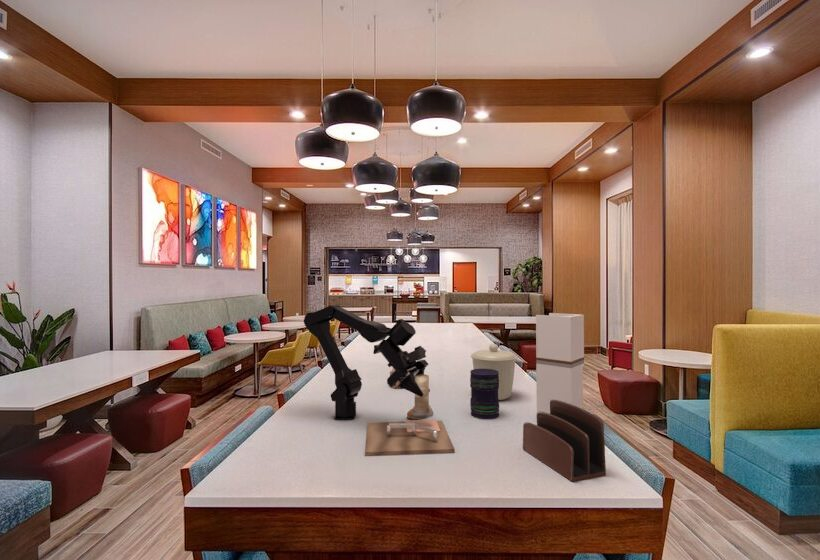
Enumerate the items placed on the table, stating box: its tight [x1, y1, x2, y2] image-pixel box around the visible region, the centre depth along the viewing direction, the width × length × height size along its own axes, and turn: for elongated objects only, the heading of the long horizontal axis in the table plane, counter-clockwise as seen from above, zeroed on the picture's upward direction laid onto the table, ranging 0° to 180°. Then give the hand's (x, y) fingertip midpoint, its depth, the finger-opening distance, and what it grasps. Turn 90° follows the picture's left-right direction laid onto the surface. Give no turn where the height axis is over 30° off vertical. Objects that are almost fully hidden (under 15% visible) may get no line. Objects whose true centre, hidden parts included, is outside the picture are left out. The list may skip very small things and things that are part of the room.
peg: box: [410, 373, 433, 419], centre depth 130 cm, size 6×6×12 cm
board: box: [364, 420, 455, 457], centre depth 123 cm, size 24×23×1 cm
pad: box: [404, 419, 440, 433], centre depth 130 cm, size 10×10×1 cm
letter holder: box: [522, 399, 607, 483], centre depth 107 cm, size 10×20×14 cm, turn 19°
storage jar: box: [469, 368, 500, 420], centre depth 144 cm, size 10×10×15 cm
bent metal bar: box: [387, 423, 437, 443], centre depth 121 cm, size 15×4×4 cm, turn 71°
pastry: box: [406, 404, 434, 420], centre depth 143 cm, size 9×7×4 cm
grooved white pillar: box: [535, 312, 585, 414], centre depth 136 cm, size 11×11×35 cm
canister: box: [470, 343, 518, 401], centre depth 166 cm, size 18×18×21 cm
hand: (425, 394), depth 129 cm, fingers closed on peg, 4 cm apart
